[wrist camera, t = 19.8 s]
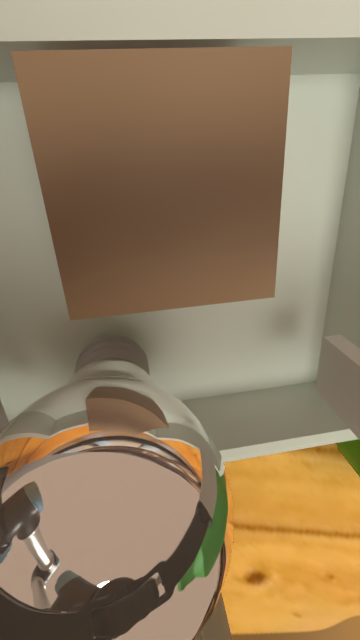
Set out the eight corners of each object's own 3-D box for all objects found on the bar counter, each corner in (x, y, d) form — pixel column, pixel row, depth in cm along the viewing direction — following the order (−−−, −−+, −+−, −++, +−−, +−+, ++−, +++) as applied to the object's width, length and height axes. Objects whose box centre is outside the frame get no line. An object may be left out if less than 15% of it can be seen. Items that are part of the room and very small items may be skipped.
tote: (-9, 433, 18) (-48, 509, 14) (-157, 62, 11) (-320, -3, 7) (321, 384, 20) (370, 436, 16) (373, 52, 13) (483, 0, 9)
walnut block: (61, 106, 12) (10, 50, 6) (219, 100, 13) (292, 45, 7) (90, 265, 14) (70, 320, 9) (220, 252, 15) (274, 297, 10)
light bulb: (84, 426, 18) (25, 807, 7) (10, 324, 15) (-283, 713, 4) (199, 378, 18) (315, 689, 7) (149, 264, 15) (218, 506, 4)
